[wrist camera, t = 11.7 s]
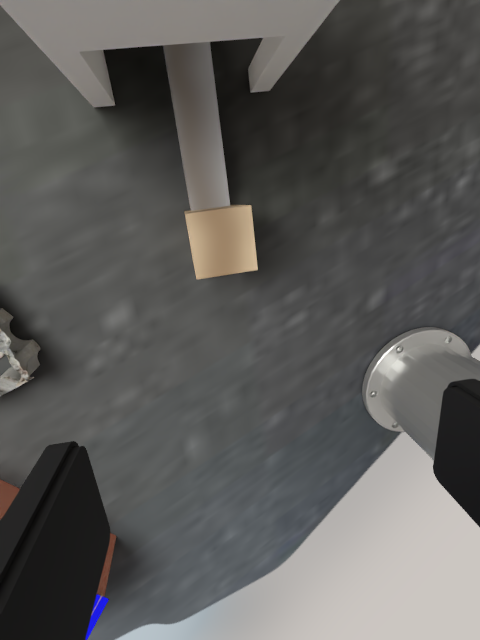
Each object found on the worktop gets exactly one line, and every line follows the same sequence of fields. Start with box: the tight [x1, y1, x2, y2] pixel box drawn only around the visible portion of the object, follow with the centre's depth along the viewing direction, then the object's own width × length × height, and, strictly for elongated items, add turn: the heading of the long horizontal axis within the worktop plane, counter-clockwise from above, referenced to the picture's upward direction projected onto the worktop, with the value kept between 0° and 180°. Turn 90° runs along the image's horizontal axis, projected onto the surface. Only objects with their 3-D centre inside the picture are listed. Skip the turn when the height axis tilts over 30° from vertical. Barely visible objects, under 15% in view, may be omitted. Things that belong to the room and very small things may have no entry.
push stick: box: [163, 42, 258, 279], centre depth 22 cm, size 4×18×8 cm, turn 7°
